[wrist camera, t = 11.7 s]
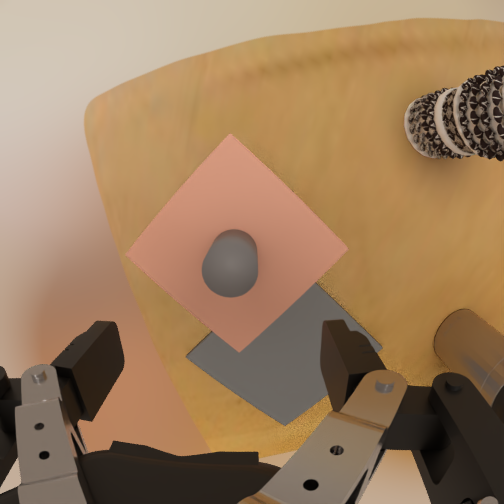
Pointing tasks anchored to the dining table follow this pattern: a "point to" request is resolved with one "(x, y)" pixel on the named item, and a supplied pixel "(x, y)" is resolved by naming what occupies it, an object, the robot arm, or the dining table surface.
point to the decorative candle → (460, 119)
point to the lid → (235, 245)
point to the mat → (279, 358)
